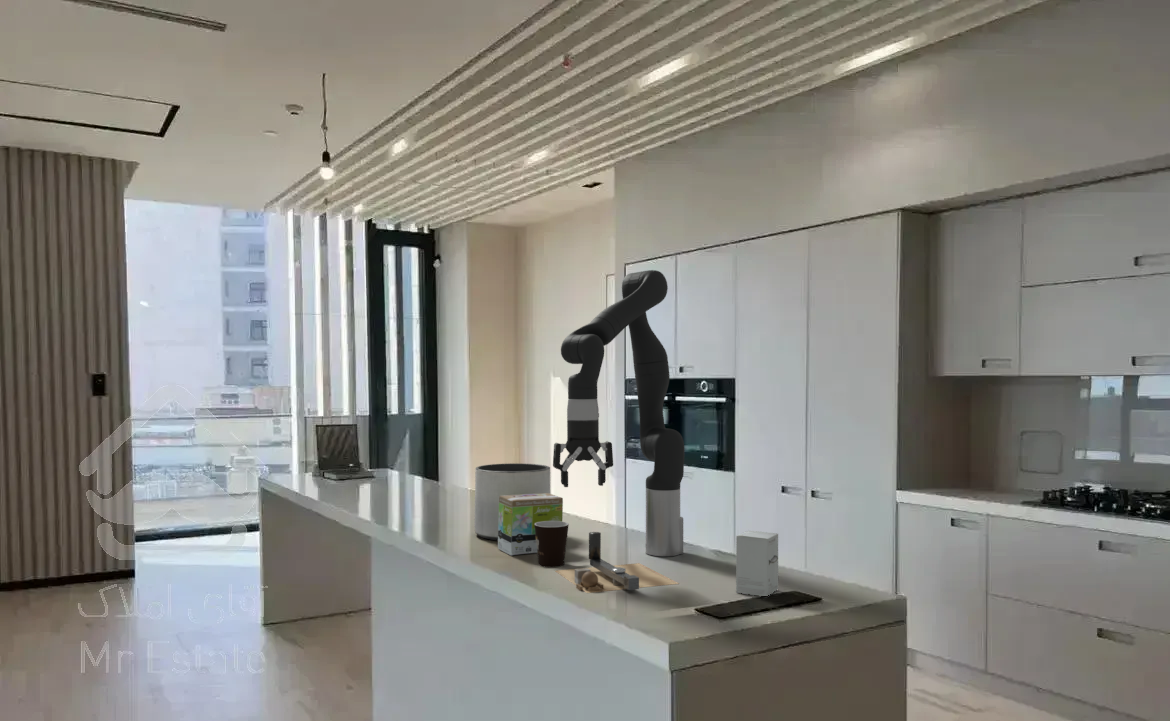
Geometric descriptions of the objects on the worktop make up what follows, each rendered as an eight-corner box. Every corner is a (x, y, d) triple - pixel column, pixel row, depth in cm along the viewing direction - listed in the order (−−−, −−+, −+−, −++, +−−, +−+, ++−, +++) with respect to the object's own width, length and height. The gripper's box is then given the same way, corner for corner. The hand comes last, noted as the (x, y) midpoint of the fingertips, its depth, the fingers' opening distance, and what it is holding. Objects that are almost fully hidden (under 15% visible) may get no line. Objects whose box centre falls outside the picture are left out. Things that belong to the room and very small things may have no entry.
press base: (639, 568, 199) (639, 550, 199) (679, 589, 180) (679, 569, 180) (551, 576, 191) (551, 558, 191) (583, 598, 172) (583, 579, 172)
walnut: (594, 585, 178) (594, 568, 178) (600, 589, 175) (600, 572, 175) (579, 586, 177) (579, 570, 177) (585, 590, 173) (585, 574, 173)
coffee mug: (564, 568, 198) (564, 527, 199) (530, 567, 200) (530, 526, 200) (574, 558, 210) (574, 519, 210) (542, 556, 212) (542, 518, 212)
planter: (509, 525, 257) (509, 461, 257) (565, 533, 244) (566, 466, 244) (458, 536, 239) (458, 468, 239) (516, 545, 225) (517, 473, 226)
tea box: (511, 557, 212) (511, 500, 212) (497, 549, 220) (497, 495, 221) (563, 551, 219) (563, 496, 219) (547, 544, 227) (547, 491, 228)
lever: (640, 588, 172) (640, 551, 172) (626, 590, 171) (626, 552, 171) (598, 564, 194) (598, 531, 194) (586, 565, 193) (586, 532, 193)
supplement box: (768, 598, 173) (767, 538, 173) (735, 593, 177) (735, 534, 177) (779, 590, 179) (779, 532, 179) (747, 585, 183) (747, 529, 183)
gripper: (607, 416, 199) (608, 483, 199) (550, 417, 196) (550, 485, 195) (615, 418, 192) (616, 487, 191) (556, 419, 188) (557, 489, 188)
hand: (583, 486), depth 193 cm, fingers open, 8 cm apart
